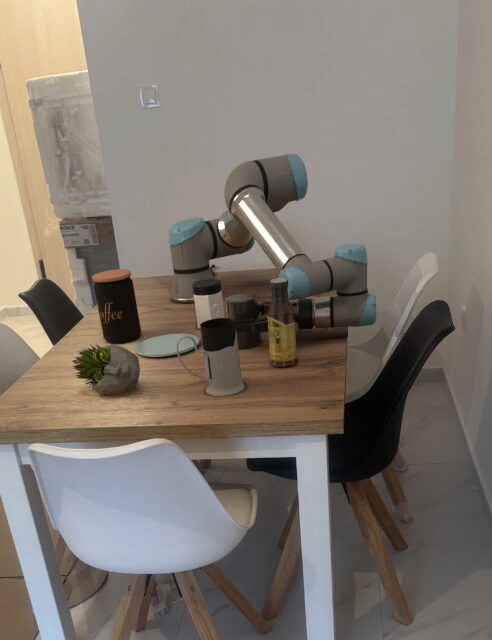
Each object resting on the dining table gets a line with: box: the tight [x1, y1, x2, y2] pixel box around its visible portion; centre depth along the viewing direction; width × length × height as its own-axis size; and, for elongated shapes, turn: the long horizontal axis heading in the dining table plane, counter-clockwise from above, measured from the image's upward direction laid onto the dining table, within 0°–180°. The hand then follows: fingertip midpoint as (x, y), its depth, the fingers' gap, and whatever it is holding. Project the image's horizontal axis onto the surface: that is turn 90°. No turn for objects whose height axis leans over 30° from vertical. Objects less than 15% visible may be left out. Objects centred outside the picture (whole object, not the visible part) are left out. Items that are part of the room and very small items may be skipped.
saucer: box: [135, 333, 201, 358], centre depth 204 cm, size 17×17×1 cm
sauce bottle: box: [267, 277, 297, 368], centre depth 178 cm, size 7×6×20 cm
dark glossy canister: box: [225, 293, 262, 350], centre depth 196 cm, size 8×8×12 cm
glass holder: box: [176, 317, 246, 397], centre depth 168 cm, size 9×14×15 cm, turn 111°
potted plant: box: [71, 343, 141, 397], centre depth 177 cm, size 12×13×15 cm
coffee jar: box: [91, 268, 142, 345], centre depth 212 cm, size 11×11×18 cm
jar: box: [192, 278, 226, 330], centre depth 215 cm, size 9×8×12 cm
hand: (230, 318), depth 197 cm, fingers open, 13 cm apart
